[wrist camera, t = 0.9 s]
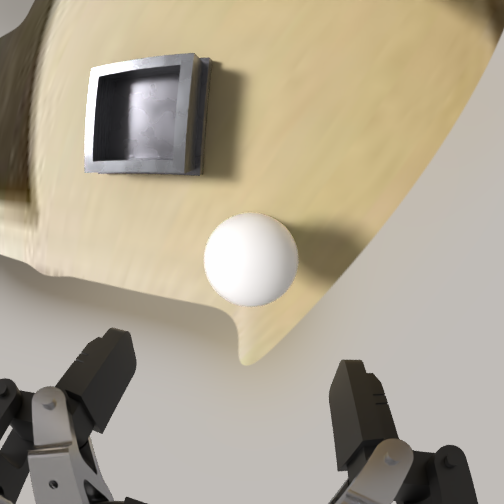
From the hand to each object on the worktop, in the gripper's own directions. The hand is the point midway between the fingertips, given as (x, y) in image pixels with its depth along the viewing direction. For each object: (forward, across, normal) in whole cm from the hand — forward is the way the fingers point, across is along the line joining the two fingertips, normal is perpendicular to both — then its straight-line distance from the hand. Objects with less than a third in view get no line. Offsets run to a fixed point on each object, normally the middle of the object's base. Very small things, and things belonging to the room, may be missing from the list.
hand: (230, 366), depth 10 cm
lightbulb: (+18, 0, 0) cm, 18 cm away
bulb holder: (+18, +11, -10) cm, 23 cm away
